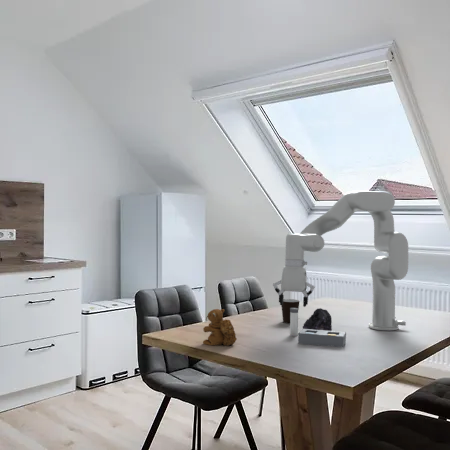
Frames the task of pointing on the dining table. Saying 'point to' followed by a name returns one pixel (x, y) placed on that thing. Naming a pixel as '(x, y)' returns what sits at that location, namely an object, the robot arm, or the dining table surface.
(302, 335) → the socket block
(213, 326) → the stuffed squirrel
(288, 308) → the coffee mug
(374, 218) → the robot arm
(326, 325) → the black rock
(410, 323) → the dining table surface
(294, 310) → the plug
